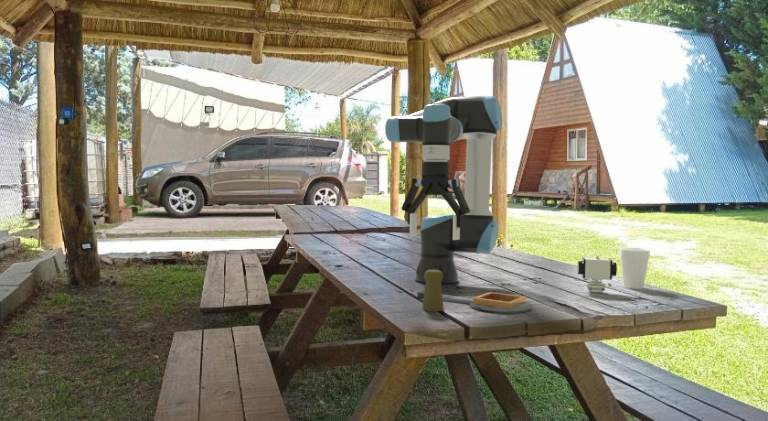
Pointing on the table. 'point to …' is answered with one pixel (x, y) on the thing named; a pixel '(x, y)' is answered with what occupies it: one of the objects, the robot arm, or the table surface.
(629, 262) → the foam cup
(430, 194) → the robot arm
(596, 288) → the pneumatic valve
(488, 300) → the round pan with handle
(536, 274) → the table surface
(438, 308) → the cork
